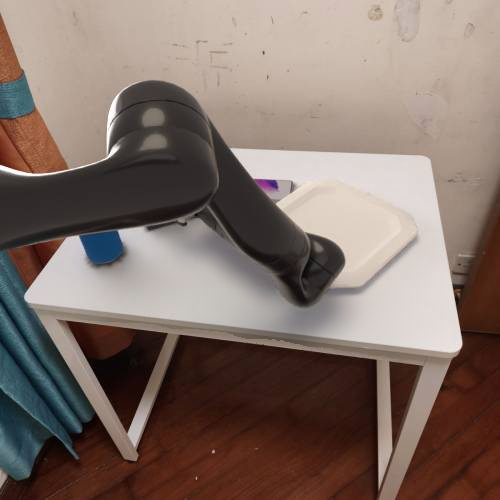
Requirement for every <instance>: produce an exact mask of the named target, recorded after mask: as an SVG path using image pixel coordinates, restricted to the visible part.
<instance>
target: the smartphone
mask: <svg viewBox="0 0 500 500" xmlns="http://www.w3.org/2000/svg"><path fill="white" fill-rule="evenodd" d="M253 179H254V180H255V181H256V183H257V184H258V185H259V186H260V187H261V188H262V190H263V191H264V192H265V193H266V194H267V195H268V196H269V197H270V198H271V200H272V201H273V202H274V203H275V204H276V203H277V202H279V201H280V200H282V199H283V198H285V197H286V196H288V195H289V194H291V193H292V192H293V191H294V181H293V180H287V179H270V178H269V179H268V178H267V179H266V178H253Z"/></svg>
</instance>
